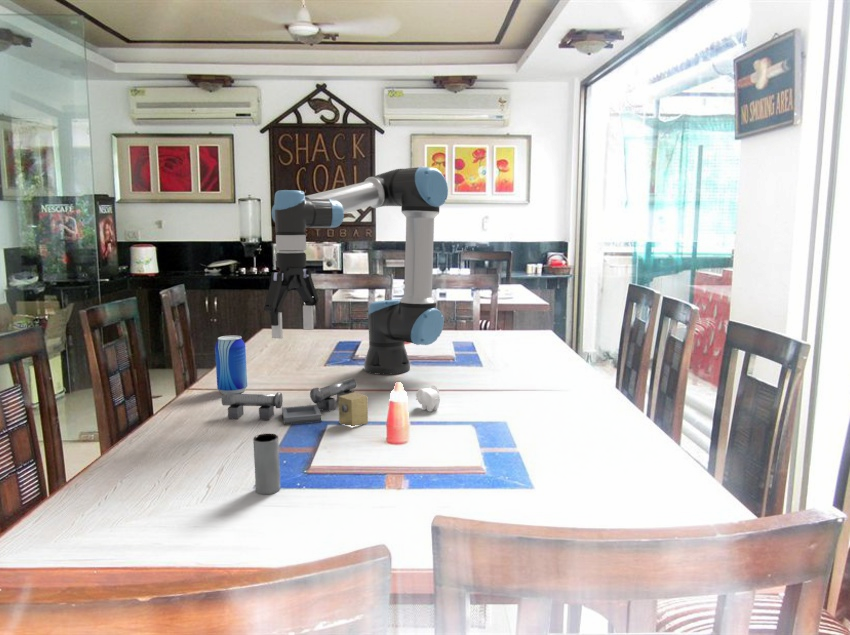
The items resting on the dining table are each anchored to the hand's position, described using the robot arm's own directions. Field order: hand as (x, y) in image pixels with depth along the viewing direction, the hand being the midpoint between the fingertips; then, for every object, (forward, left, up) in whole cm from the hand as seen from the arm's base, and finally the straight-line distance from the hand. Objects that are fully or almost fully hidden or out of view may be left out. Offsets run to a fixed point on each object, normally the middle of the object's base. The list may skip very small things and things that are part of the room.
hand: (293, 333), depth 170 cm
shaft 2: (-11, 0, -20) cm, 23 cm away
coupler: (-13, +16, -20) cm, 29 cm away
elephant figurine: (-34, +10, -21) cm, 41 cm away
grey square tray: (-1, +8, -20) cm, 22 cm away
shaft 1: (+12, +4, -20) cm, 24 cm away
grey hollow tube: (+9, +50, -21) cm, 55 cm away
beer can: (+16, -23, -21) cm, 35 cm away
